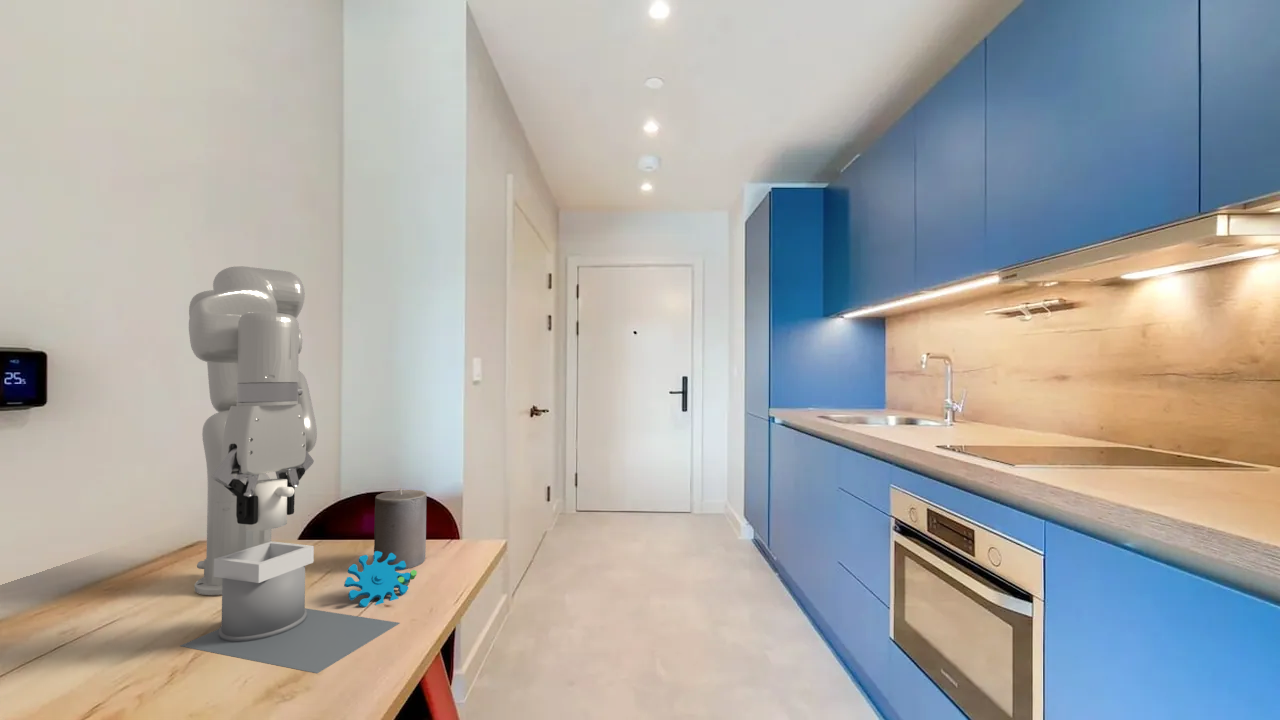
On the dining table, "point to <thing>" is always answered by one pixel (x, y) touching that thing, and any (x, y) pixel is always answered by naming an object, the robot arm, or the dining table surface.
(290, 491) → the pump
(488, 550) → the dining table surface
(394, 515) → the pillar candle
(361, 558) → the gear
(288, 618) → the motor stand
